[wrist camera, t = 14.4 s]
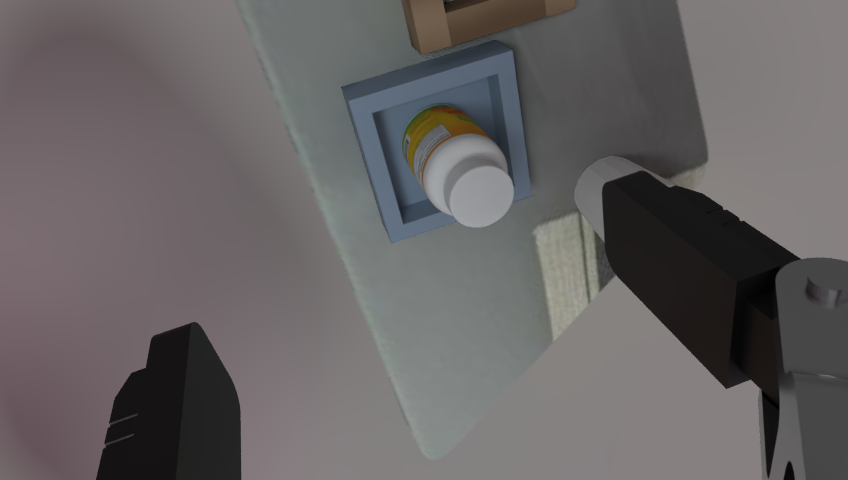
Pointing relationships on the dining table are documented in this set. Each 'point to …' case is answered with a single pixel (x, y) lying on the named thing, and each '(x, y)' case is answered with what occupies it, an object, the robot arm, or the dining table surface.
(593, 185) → the shot glass
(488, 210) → the supplement bottle
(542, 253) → the dining table surface
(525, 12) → the collar
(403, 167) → the tray
